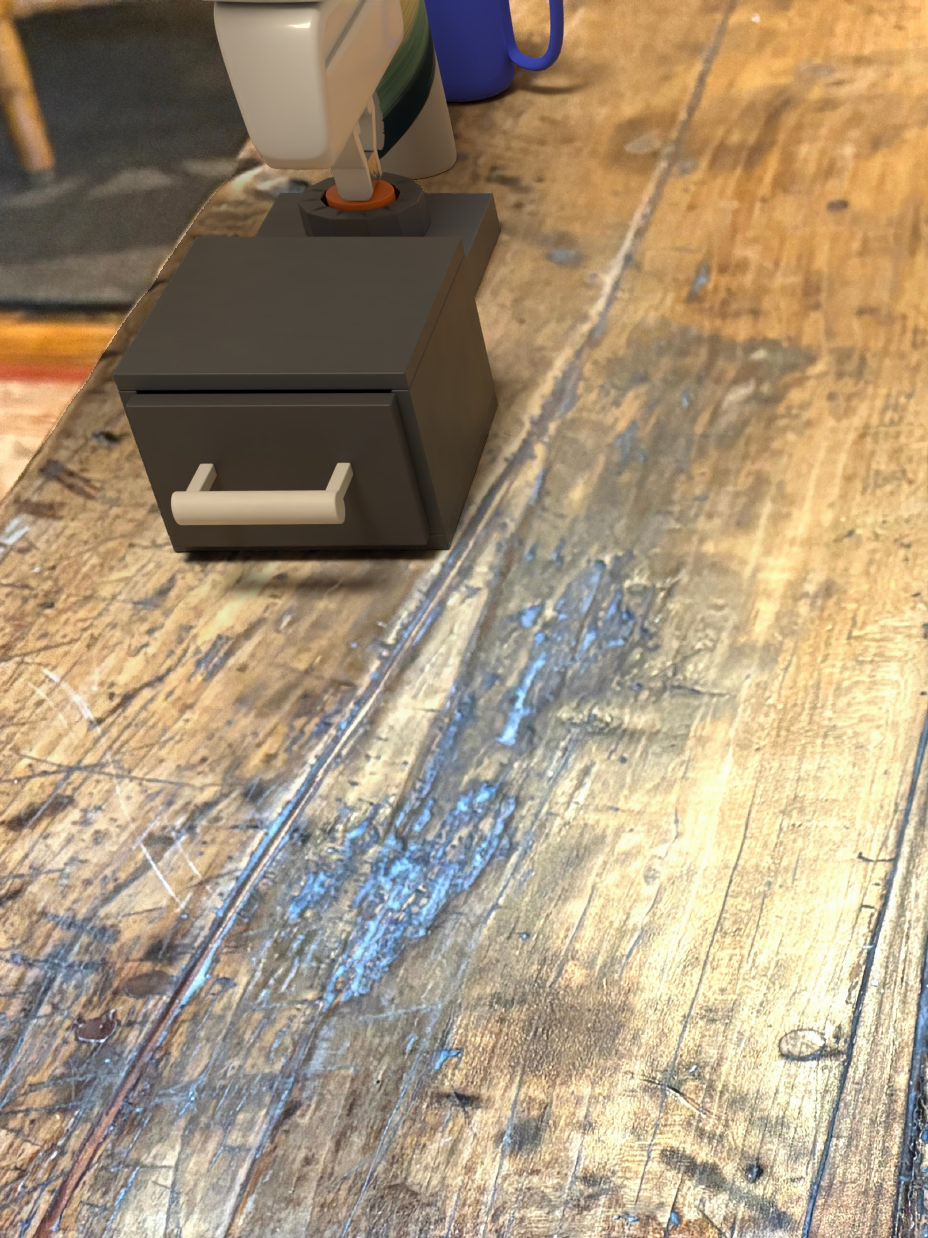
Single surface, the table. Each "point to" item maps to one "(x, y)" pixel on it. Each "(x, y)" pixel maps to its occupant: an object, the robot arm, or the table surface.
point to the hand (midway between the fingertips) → (362, 190)
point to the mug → (484, 46)
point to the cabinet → (332, 344)
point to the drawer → (280, 467)
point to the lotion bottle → (413, 104)
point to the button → (379, 198)
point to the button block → (393, 218)
